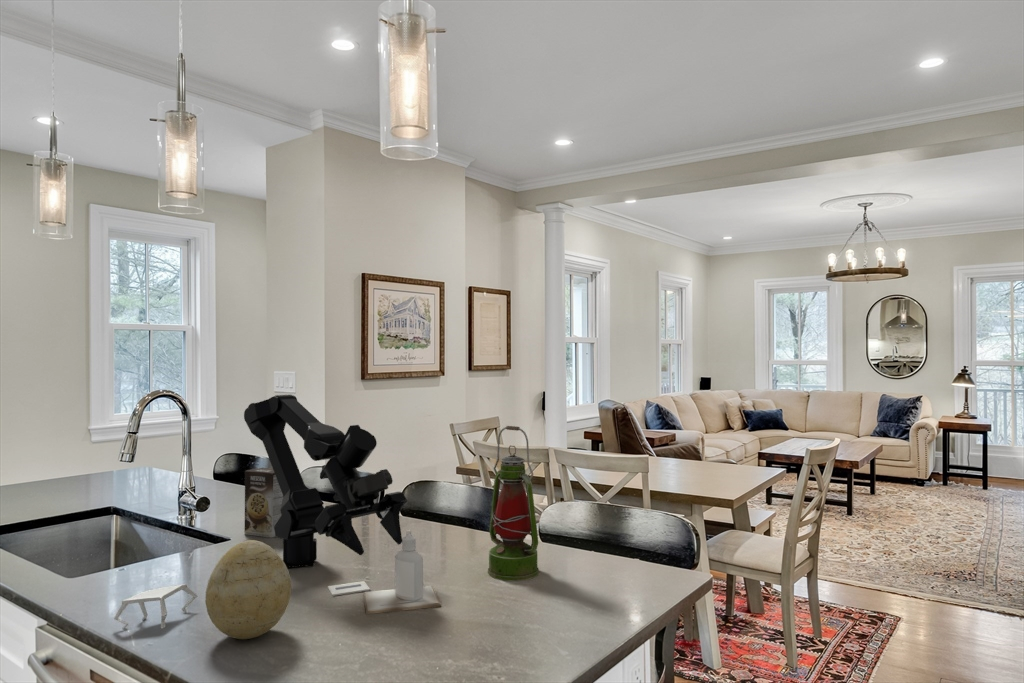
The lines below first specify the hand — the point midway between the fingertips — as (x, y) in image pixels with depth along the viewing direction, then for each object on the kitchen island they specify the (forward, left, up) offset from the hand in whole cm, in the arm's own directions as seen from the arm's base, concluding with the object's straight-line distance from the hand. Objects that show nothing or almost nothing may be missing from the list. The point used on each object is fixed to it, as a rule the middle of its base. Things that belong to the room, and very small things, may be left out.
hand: (381, 548), depth 127 cm
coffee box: (-25, +52, -8) cm, 58 cm away
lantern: (+27, +4, -8) cm, 28 cm away
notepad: (+3, -6, -8) cm, 10 cm away
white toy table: (-37, -4, -8) cm, 38 cm away
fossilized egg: (-22, -15, -8) cm, 28 cm away
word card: (-6, +3, -8) cm, 11 cm away
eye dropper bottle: (+4, -6, -8) cm, 11 cm away
